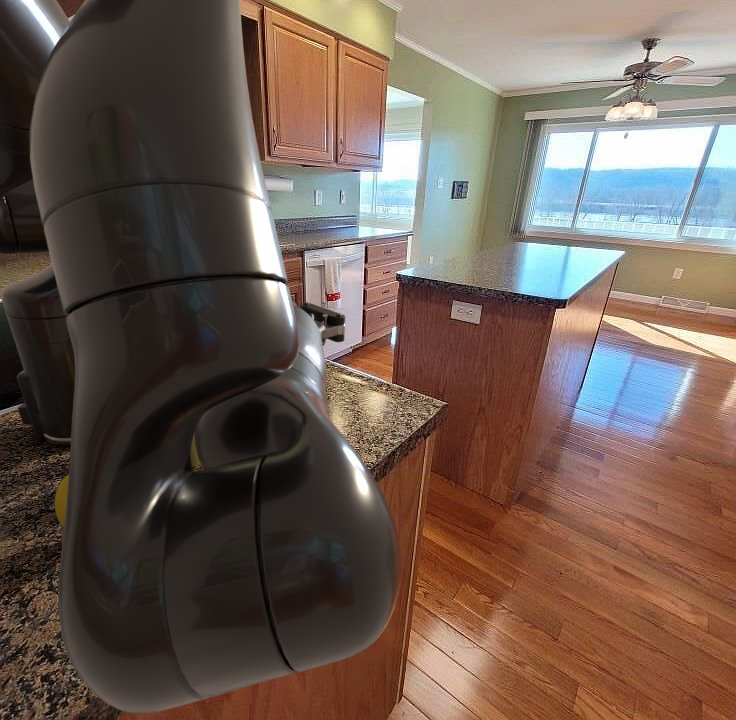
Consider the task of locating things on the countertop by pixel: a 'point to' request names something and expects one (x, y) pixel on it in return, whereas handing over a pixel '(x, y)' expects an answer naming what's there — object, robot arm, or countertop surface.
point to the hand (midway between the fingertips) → (281, 301)
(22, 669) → the countertop surface
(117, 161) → the robot arm
